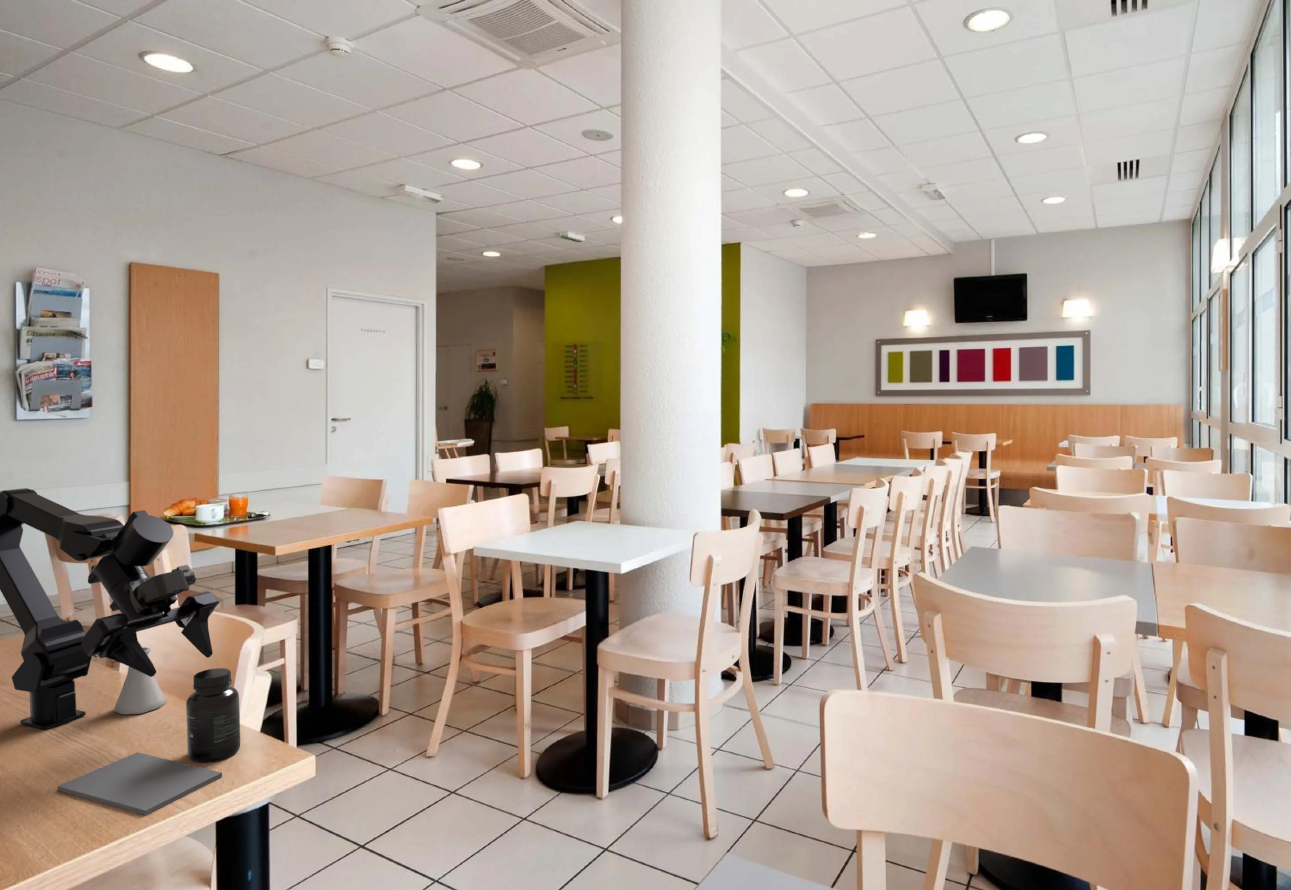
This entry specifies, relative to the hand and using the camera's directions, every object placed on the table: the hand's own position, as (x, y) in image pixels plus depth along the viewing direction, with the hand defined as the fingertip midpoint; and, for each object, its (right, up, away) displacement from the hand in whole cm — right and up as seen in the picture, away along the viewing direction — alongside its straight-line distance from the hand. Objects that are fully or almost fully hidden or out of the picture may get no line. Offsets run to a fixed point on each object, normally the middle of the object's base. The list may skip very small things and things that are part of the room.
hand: (183, 665), depth 118 cm
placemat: (+1, -13, -11) cm, 17 cm away
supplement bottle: (+6, -13, -2) cm, 14 cm away
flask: (-17, -12, +16) cm, 26 cm away
